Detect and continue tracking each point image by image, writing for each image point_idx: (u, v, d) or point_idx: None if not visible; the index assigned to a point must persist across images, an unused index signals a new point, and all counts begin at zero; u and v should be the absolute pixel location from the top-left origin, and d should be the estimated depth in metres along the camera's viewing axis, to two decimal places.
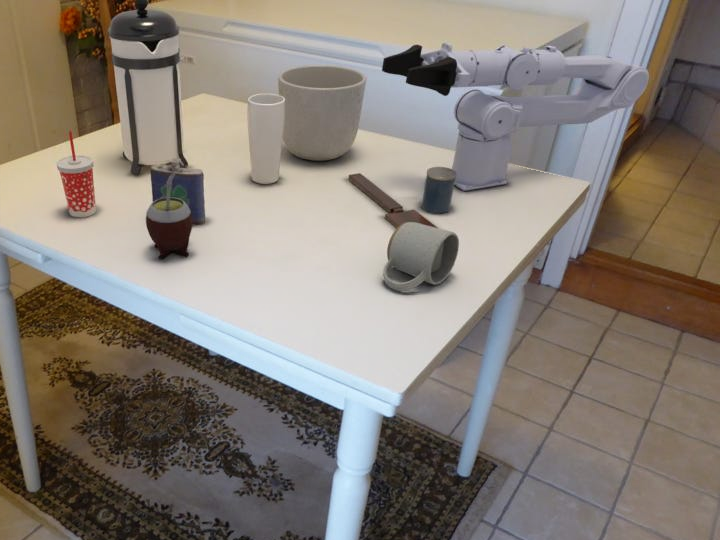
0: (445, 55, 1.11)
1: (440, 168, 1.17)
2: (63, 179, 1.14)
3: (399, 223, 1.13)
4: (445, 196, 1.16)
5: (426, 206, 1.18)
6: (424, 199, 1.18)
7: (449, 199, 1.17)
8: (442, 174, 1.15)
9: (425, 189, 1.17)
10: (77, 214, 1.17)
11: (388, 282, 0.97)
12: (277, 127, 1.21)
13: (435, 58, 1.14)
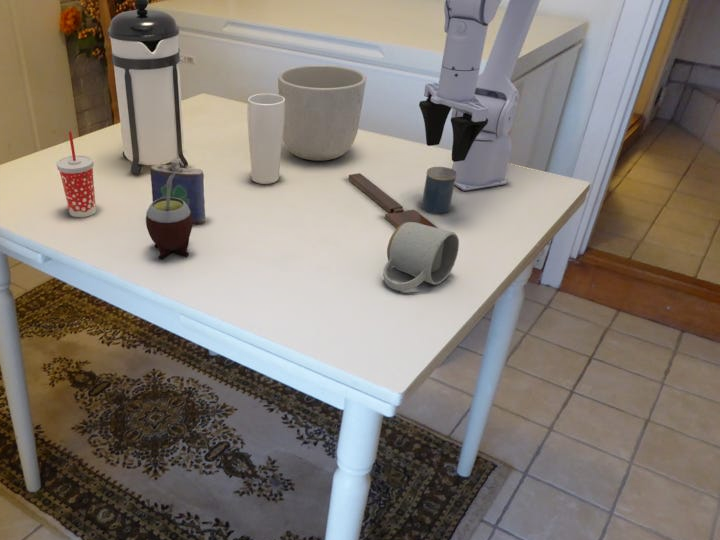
0: None
1: (440, 168, 1.17)
2: (63, 179, 1.14)
3: (399, 223, 1.13)
4: (445, 196, 1.16)
5: (426, 206, 1.18)
6: (424, 199, 1.18)
7: (449, 199, 1.17)
8: (442, 174, 1.15)
9: (425, 189, 1.17)
10: (77, 214, 1.17)
11: (388, 282, 0.97)
12: (277, 127, 1.21)
13: None
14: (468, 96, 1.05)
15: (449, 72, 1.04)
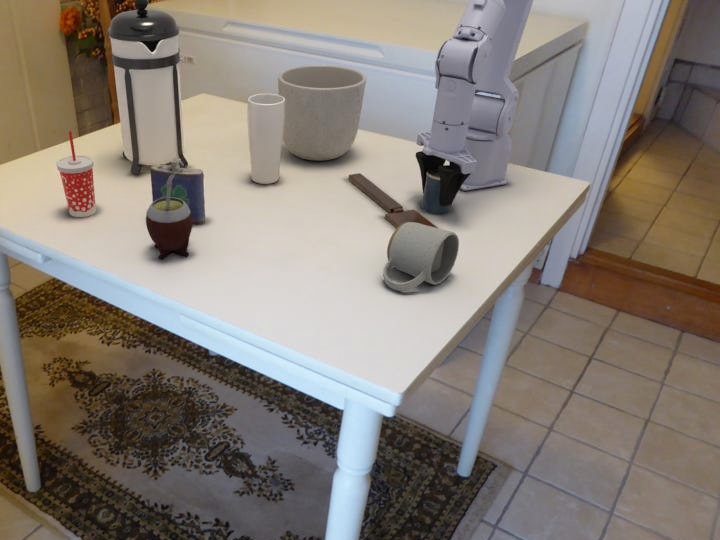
0: None
1: None
2: (63, 179, 1.14)
3: (399, 223, 1.13)
4: None
5: (426, 206, 1.18)
6: (424, 199, 1.18)
7: None
8: None
9: (425, 190, 1.17)
10: (77, 214, 1.17)
11: (388, 282, 0.97)
12: (277, 127, 1.21)
13: None
14: (458, 148, 1.10)
15: (440, 126, 1.09)
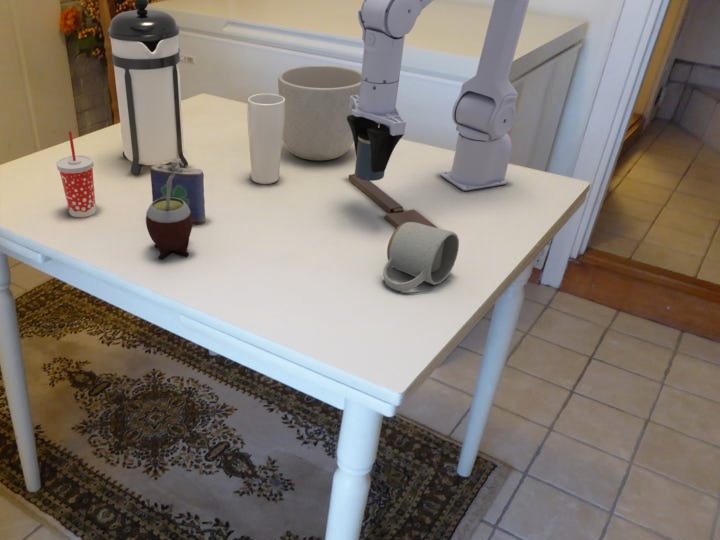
0: None
1: None
2: (63, 179, 1.14)
3: (399, 223, 1.13)
4: None
5: (358, 173, 1.11)
6: (356, 165, 1.11)
7: None
8: None
9: (357, 155, 1.10)
10: (77, 214, 1.17)
11: (388, 282, 0.97)
12: (277, 127, 1.21)
13: None
14: (388, 109, 1.04)
15: (367, 85, 1.02)
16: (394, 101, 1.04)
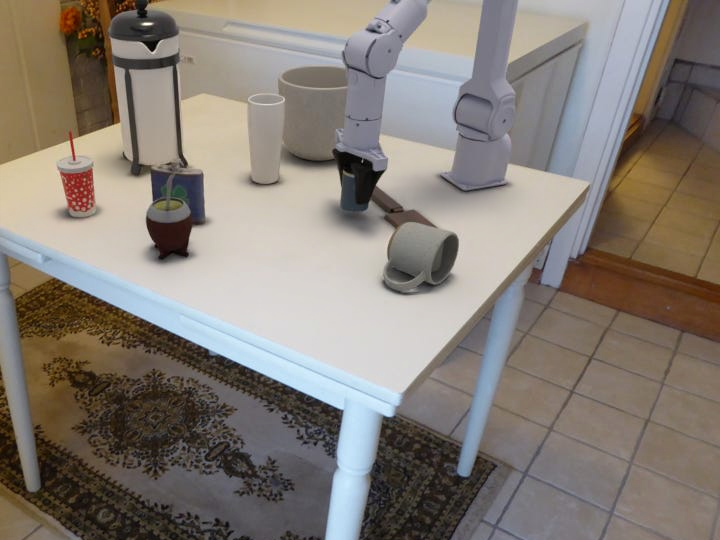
0: None
1: None
2: (63, 179, 1.14)
3: (399, 223, 1.13)
4: None
5: (343, 204, 1.14)
6: (341, 197, 1.14)
7: None
8: None
9: (342, 187, 1.13)
10: (77, 214, 1.17)
11: (388, 282, 0.97)
12: (277, 127, 1.21)
13: None
14: (371, 144, 1.07)
15: (351, 121, 1.05)
16: (377, 137, 1.07)
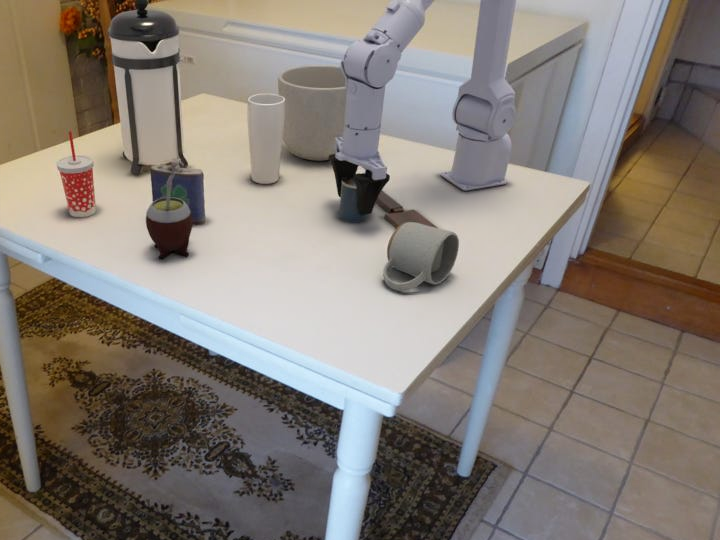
0: None
1: None
2: (63, 179, 1.14)
3: (399, 223, 1.13)
4: None
5: (342, 215, 1.15)
6: (340, 207, 1.15)
7: None
8: None
9: (341, 198, 1.14)
10: (77, 214, 1.17)
11: (388, 282, 0.97)
12: (277, 127, 1.21)
13: None
14: (370, 153, 1.08)
15: (350, 131, 1.06)
16: (376, 146, 1.08)
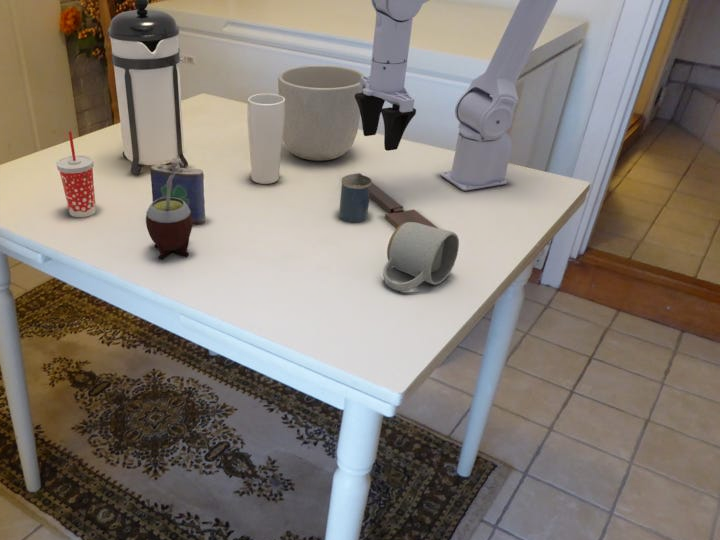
0: None
1: (356, 176, 1.14)
2: (63, 179, 1.14)
3: (399, 223, 1.13)
4: (360, 204, 1.13)
5: (342, 215, 1.15)
6: (340, 207, 1.15)
7: (365, 207, 1.14)
8: (356, 182, 1.12)
9: (341, 198, 1.14)
10: (76, 214, 1.17)
11: (388, 282, 0.97)
12: (277, 127, 1.21)
13: None
14: (397, 88, 1.11)
15: (378, 65, 1.10)
16: (403, 80, 1.11)
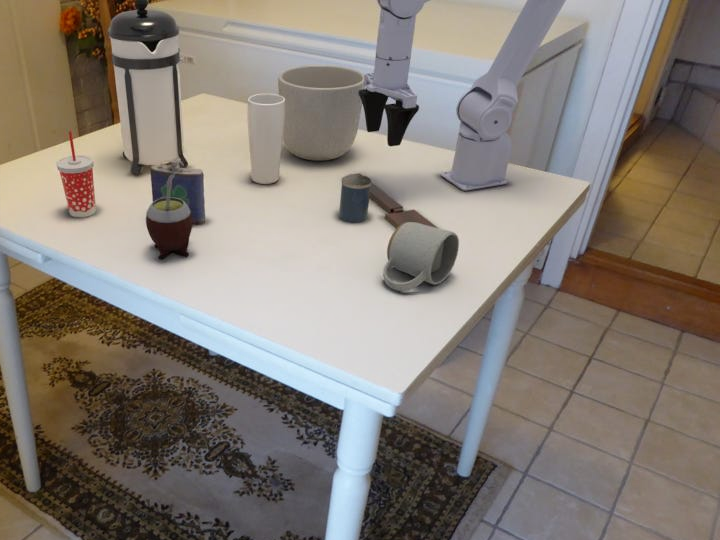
0: None
1: (356, 176, 1.14)
2: (63, 179, 1.14)
3: (399, 223, 1.13)
4: (360, 204, 1.13)
5: (342, 215, 1.15)
6: (340, 207, 1.15)
7: (365, 207, 1.14)
8: (356, 182, 1.12)
9: (341, 198, 1.14)
10: (77, 214, 1.17)
11: (388, 282, 0.97)
12: (277, 127, 1.21)
13: None
14: (400, 84, 1.13)
15: (381, 62, 1.11)
16: (406, 77, 1.13)
